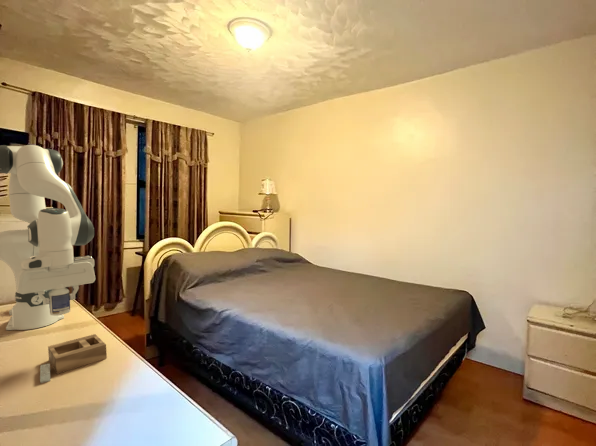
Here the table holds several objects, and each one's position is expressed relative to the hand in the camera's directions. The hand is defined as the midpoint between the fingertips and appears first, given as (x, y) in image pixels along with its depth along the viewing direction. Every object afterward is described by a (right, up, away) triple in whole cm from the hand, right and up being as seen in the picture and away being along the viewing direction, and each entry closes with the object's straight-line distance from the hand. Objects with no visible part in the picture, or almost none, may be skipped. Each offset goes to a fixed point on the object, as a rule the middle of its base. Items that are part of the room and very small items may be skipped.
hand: (59, 301), depth 106 cm
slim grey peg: (+4, -19, -11) cm, 22 cm away
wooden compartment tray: (+7, -18, -2) cm, 19 cm away
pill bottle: (0, -4, 0) cm, 4 cm away
